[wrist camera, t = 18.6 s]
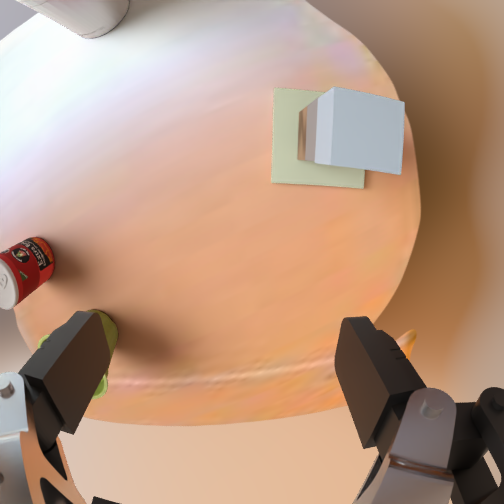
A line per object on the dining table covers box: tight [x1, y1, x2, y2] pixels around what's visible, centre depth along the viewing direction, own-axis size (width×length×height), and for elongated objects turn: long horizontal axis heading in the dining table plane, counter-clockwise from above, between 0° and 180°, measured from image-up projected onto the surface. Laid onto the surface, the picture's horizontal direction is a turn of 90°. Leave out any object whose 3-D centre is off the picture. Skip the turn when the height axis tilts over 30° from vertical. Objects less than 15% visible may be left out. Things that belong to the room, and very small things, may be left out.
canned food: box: [0, 237, 55, 310], centre depth 33 cm, size 8×8×11 cm
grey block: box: [305, 97, 319, 161], centre depth 26 cm, size 6×6×5 cm
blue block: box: [315, 87, 404, 175], centre depth 21 cm, size 6×6×5 cm
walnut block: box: [297, 106, 307, 161], centre depth 31 cm, size 6×6×5 cm
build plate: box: [271, 88, 365, 189], centre depth 34 cm, size 12×12×1 cm
